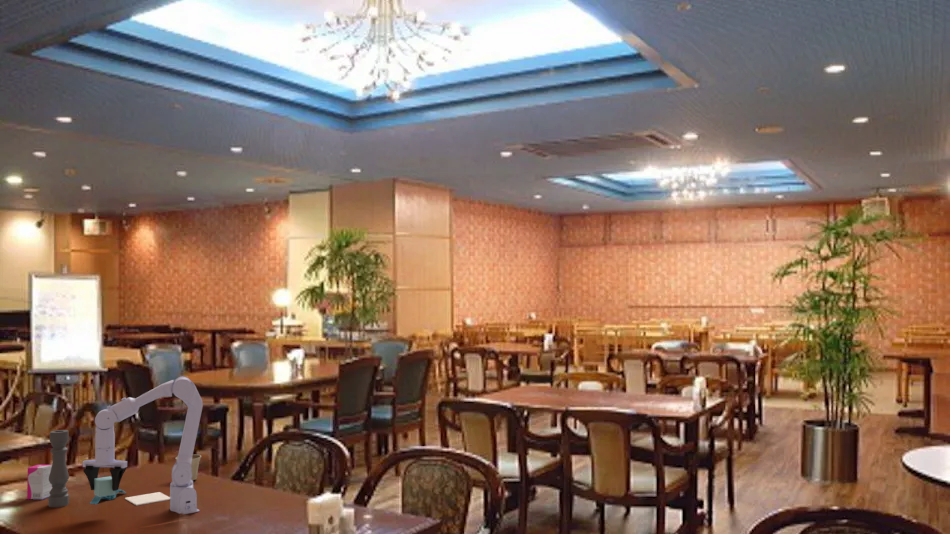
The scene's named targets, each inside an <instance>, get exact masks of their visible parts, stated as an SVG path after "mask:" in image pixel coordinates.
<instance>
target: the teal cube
mask: <svg viewBox="0 0 950 534" xmlns="http://www.w3.org/2000/svg"><path fill="white" fill-rule="evenodd" d="M114 494H116V491H113V489H112V476H111V475H109V476H103V477H98V478H95V479H94V490H93V495H94V496H98V497H103V496H108V495H114ZM116 495H117V494H116Z"/></svg>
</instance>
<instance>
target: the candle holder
mask: <svg viewBox="0 0 950 534" xmlns="http://www.w3.org/2000/svg"><path fill="white" fill-rule="evenodd" d="M69 432H70V431H69V430H68V429H58V430H57V429H56V430H52V431H49V442H50V445H51V447H52V448H51V449H50V453H51V454H52V463H51V465H52V467H51V471H50V475H49V482H50V484H51V485H52V489H51V491H50V492H49V494H50V496H49V497H48V498H47V500H48V501H47V503H48V504H47V505H48V507H49V508H62V507H63V508H64V507H67V506H68V505H69V504H70V494H69V493H68V492H69V489H68V488H67V487H66V485H67V482H68V481H69V478H70V475H69V472H68V471H69V470H68V466H67V463H66V453H67V451H68V447H66V446H67V444H68V443H69V442H68V441H69V438H70V437H69Z"/></svg>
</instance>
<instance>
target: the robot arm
mask: <svg viewBox="0 0 950 534" xmlns="http://www.w3.org/2000/svg"><path fill="white" fill-rule="evenodd" d="M173 395H174V396H175V397H177V398H178V399H180V400H181V401H183V403H184V405H186V407H187V410H186V415H185V420H184V421H185V422H184V425H183V431H182V436H181V440H180V444H179V450H178V454H177V456H176V457H177V460H175V463H174V464H173V466H172V468H171V482H170V484H169V497H170V500H169V511H171V512H175V513H177V514H180V515H181V514H183V515H187V514H193V513H194V514H195V513H199V512H200V509H198V503H197V501H198V498H197V497H198V495H197V491H196V489H195V488H194V480H191V478H192V472H191V463H192V456H193V454H194V449H195V445H196V440H197V437H198V431H199V427H200V421H201V416H202V411H203V408H204V407H203V405H204V402H203V399H202V397H201V395H200V393H199V391H198V389H197V386H196V385H195V383H194V382H193V381H192V380H191V379H190V378H189V377H187V376H179V377H177V378H176V379H171V380H169V381H166V382H163V383H161V384H160V385H157V386H156V387H154V388H153V389H150V390H149V391H146V392H144V393H142V394H141V395H139V396H138V397H136V398H135V397H131V396H129V397H127V398H126V397H123V398H121V401H119V402H116V403H115V404H113V405H108V406H106V409H102V410H100V411H99V412H97V414H96V416H95V418H94V424H95V426H96V427H95V432H96V433H95V435H94V443H95V445H94V446H95V447H94V450H95V452H94V454H95V455H94V459H85V460H83V461H82V468H83V471H82V472H83V473H84V475H85V476H86V479H87V481H88V483H89V486H90V487H89V488H90V490H91V491H94V479H95V478H99V471H100V468H111V469H109V471H110V476H111V477H112V489H113V491H116V490H118V489H120V488H119V487H120V483H121V480H122V478H123V476H124V473H125V471H126V470H127V468H128V460H121V459H115V455H116V454H115V453H116V451H115V450H116V448H115V446H116V444H115V443H116V437H115V436H116V435H115V423H120V422H122V421H123V420H125V419H127V418H128V419H129V418H130V417H132V416H133V415H135V414H137V413H138V412H139V410H140V407H142V406H144V405H146V404H149V403H152V402H153V401H155V400H158V399H159V398H162V397H169V398H171V397H173Z"/></svg>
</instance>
